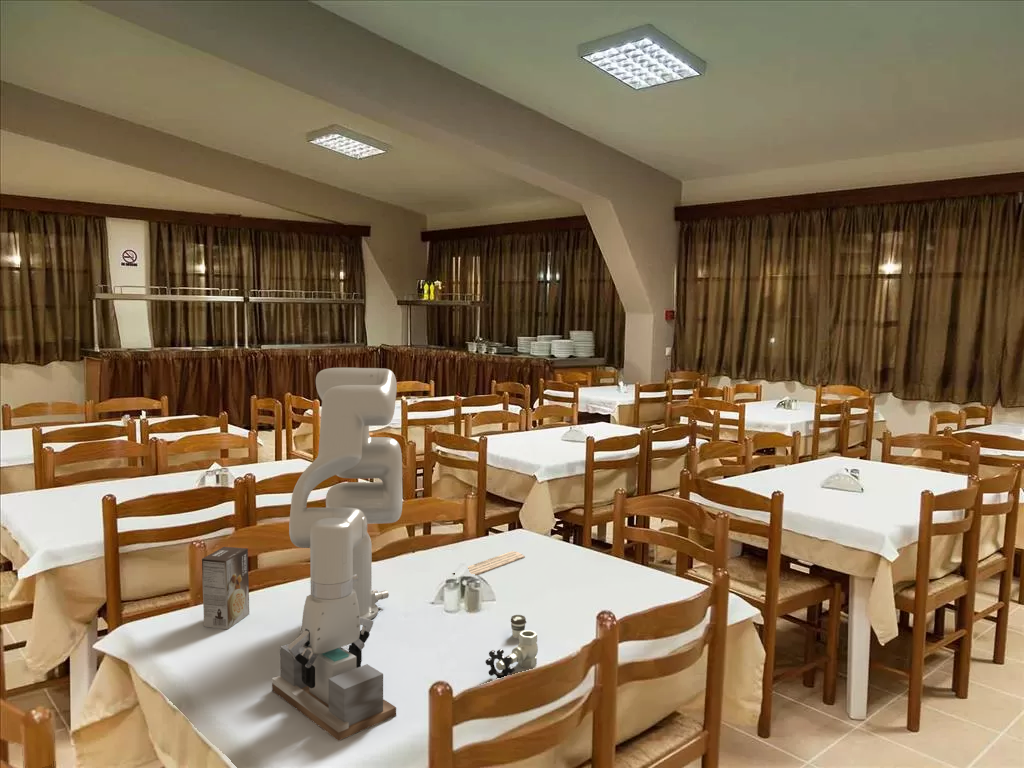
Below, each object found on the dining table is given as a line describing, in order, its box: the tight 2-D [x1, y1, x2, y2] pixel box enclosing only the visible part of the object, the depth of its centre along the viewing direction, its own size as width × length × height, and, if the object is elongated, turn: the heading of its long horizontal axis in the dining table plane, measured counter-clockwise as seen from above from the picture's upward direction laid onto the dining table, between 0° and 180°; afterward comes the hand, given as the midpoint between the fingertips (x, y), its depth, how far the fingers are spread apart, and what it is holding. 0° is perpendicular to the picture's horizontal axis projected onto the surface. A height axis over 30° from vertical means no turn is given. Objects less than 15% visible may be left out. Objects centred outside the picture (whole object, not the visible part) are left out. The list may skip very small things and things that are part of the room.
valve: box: [485, 629, 539, 680], centre depth 157 cm, size 7×7×12 cm
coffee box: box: [201, 546, 250, 630], centre depth 178 cm, size 9×6×16 cm
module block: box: [309, 647, 357, 705], centre depth 143 cm, size 5×8×8 cm, turn 45°
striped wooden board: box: [467, 550, 526, 576], centre depth 220 cm, size 24×7×2 cm, turn 139°
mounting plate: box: [271, 642, 397, 742], centre depth 144 cm, size 12×23×8 cm, turn 45°
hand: (332, 676), depth 143 cm, fingers open, 9 cm apart
